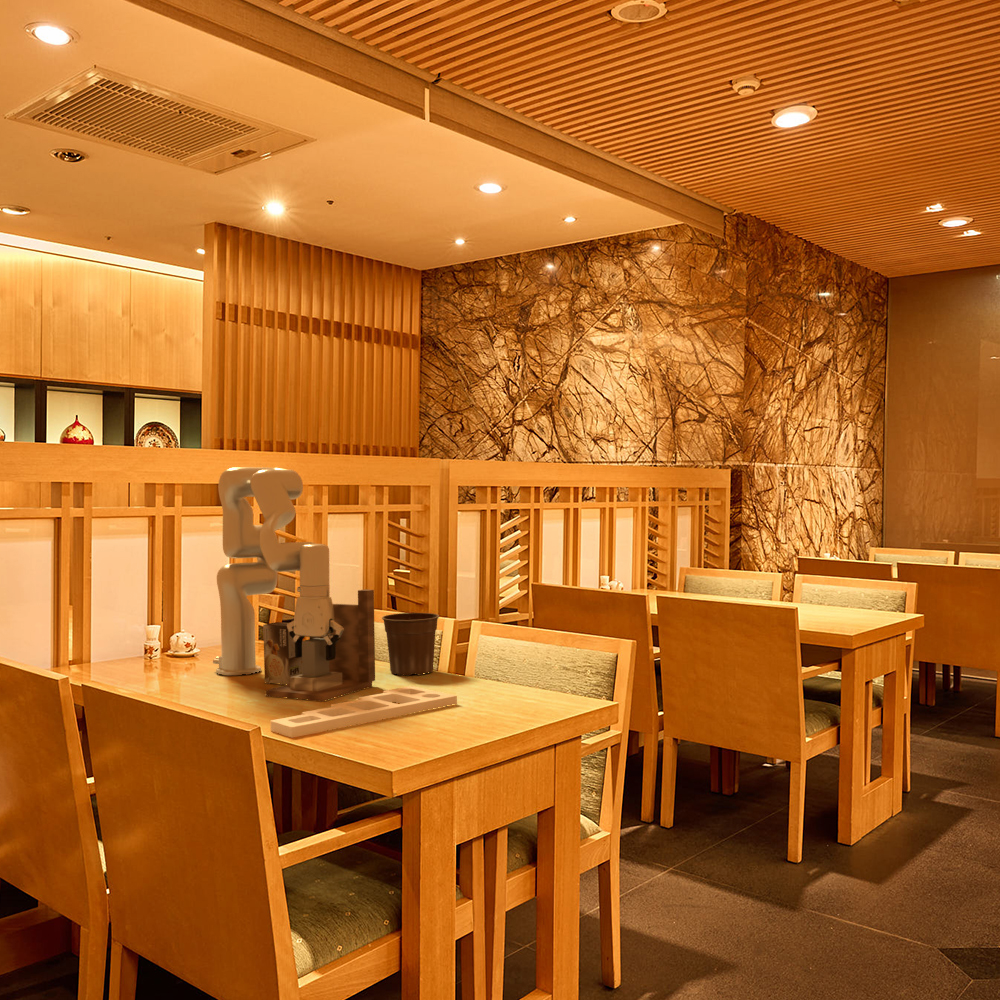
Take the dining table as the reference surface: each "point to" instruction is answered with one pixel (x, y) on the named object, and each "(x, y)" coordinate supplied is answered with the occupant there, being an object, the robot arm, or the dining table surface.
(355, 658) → the wooden display stand
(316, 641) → the plain rectangular block
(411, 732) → the dining table surface
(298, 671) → the coffee box
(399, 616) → the plant pot
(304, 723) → the holder
